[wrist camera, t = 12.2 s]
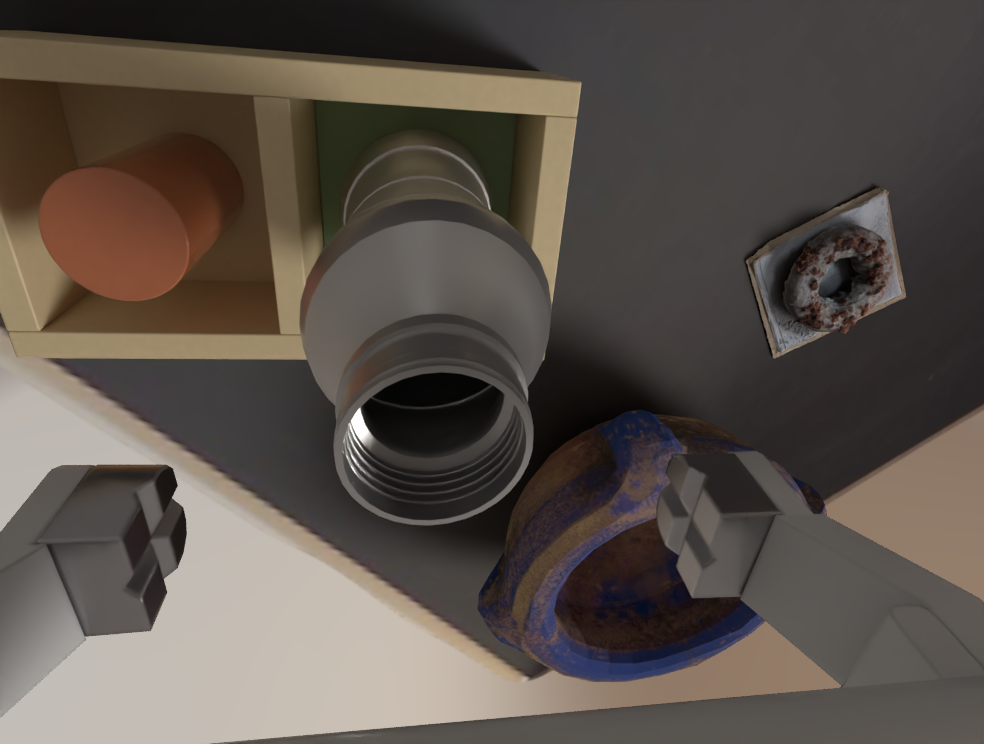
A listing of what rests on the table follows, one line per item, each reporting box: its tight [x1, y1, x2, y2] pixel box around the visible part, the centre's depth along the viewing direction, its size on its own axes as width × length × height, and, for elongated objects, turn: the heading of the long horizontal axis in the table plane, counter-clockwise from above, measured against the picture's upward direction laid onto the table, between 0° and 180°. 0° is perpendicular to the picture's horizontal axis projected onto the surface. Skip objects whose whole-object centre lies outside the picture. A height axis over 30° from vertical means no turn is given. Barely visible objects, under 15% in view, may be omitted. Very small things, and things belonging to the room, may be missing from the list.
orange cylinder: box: [38, 132, 244, 301], centre depth 23 cm, size 5×5×8 cm
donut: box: [746, 188, 906, 358], centre depth 33 cm, size 8×8×2 cm
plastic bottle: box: [299, 129, 552, 525], centre depth 19 cm, size 6×7×20 cm
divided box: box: [0, 30, 581, 360], centre depth 25 cm, size 11×22×7 cm, turn 86°
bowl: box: [478, 410, 827, 682], centre depth 36 cm, size 18×18×10 cm
